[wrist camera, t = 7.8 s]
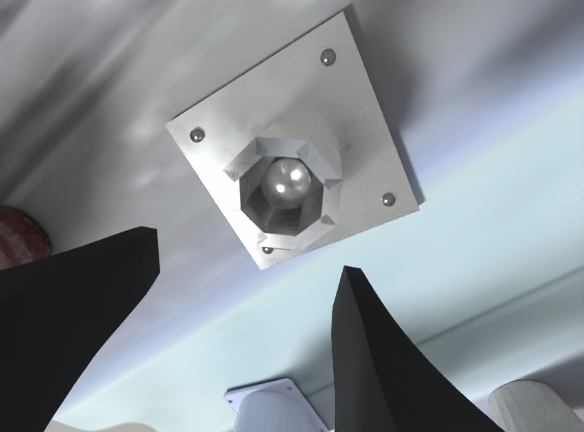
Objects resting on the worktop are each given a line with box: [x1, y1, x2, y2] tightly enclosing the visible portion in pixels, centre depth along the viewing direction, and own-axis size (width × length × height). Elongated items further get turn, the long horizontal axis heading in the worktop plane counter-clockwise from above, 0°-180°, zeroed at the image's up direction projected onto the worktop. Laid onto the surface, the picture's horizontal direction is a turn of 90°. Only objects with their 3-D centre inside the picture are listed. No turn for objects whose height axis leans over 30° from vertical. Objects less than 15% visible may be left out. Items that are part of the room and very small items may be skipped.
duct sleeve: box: [222, 121, 343, 250], centre depth 16 cm, size 6×6×5 cm
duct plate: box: [165, 11, 420, 270], centre depth 17 cm, size 12×12×4 cm
